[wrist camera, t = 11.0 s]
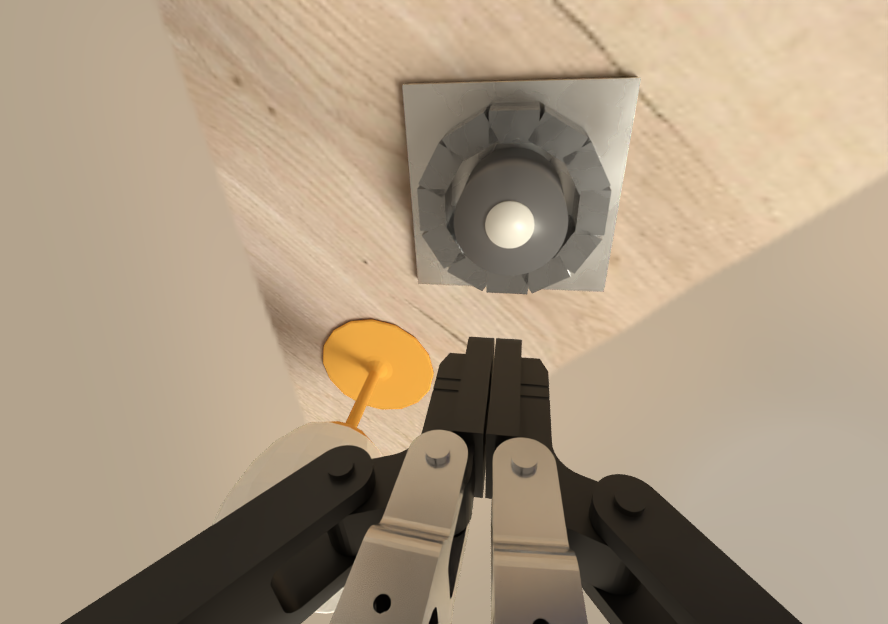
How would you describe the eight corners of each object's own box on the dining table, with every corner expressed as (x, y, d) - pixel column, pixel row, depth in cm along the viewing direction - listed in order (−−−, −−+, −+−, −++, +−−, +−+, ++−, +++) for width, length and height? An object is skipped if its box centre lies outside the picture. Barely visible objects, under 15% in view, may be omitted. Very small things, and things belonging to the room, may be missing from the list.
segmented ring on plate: (404, 83, 24) (389, 89, 21) (638, 76, 22) (652, 83, 20) (420, 279, 30) (409, 302, 28) (602, 287, 29) (609, 313, 26)
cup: (451, 397, 36) (404, 615, 22) (356, 416, 39) (265, 618, 25) (403, 305, 32) (312, 505, 18) (302, 334, 35) (160, 524, 21)
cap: (462, 149, 25) (449, 170, 21) (565, 144, 24) (572, 164, 20) (467, 243, 28) (456, 276, 24) (559, 242, 27) (564, 276, 23)
